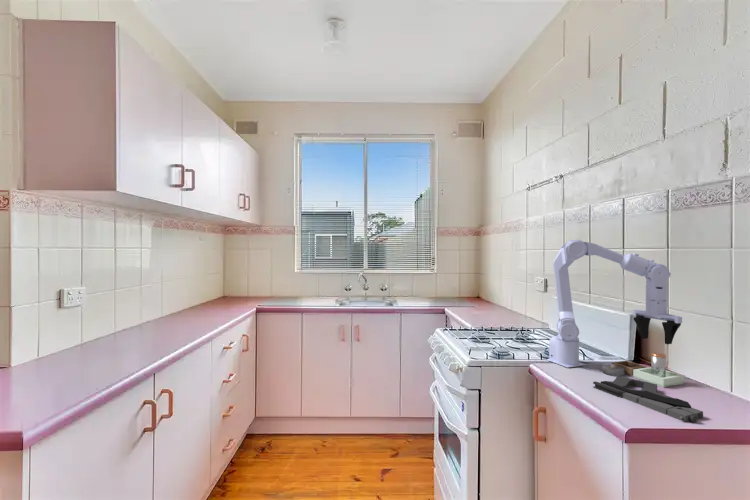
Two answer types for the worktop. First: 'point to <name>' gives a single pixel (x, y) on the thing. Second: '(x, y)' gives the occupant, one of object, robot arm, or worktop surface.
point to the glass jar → (658, 364)
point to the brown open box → (621, 368)
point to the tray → (663, 382)
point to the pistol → (650, 398)
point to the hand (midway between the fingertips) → (656, 341)
